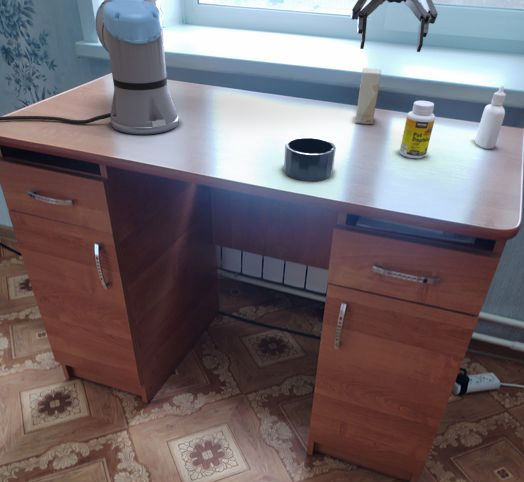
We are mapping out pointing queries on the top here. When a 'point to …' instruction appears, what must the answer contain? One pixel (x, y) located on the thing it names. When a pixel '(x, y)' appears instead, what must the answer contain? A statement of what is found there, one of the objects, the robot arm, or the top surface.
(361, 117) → the box
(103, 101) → the top surface
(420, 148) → the supplement bottle
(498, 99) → the eye dropper bottle
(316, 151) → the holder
